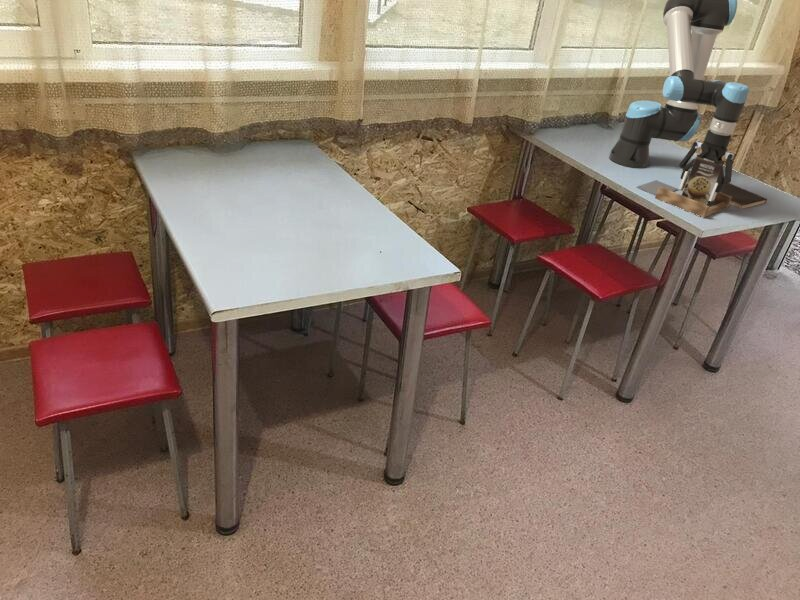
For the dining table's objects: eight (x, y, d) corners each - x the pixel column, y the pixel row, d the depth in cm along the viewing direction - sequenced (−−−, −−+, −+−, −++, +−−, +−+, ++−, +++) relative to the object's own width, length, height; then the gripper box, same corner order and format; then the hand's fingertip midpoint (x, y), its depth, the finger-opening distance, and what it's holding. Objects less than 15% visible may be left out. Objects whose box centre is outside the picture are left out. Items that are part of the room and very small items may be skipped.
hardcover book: (740, 210, 230) (743, 204, 229) (685, 186, 245) (687, 180, 244) (765, 204, 238) (767, 198, 237) (710, 180, 254) (712, 175, 252)
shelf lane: (655, 198, 229) (658, 187, 227) (681, 188, 240) (685, 178, 238) (702, 218, 218) (707, 207, 216) (728, 207, 229) (732, 196, 227)
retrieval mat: (636, 187, 236) (636, 186, 235) (656, 181, 244) (656, 180, 244) (658, 196, 230) (658, 195, 230) (677, 189, 239) (678, 188, 238)
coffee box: (678, 202, 228) (694, 158, 219) (680, 196, 233) (696, 153, 224) (705, 209, 225) (723, 165, 216) (707, 204, 230) (724, 160, 221)
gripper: (682, 122, 220) (661, 184, 232) (749, 144, 206) (722, 208, 218) (693, 120, 224) (671, 180, 236) (759, 141, 211) (732, 204, 222)
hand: (696, 194), depth 227 cm, fingers closed on coffee box, 10 cm apart
